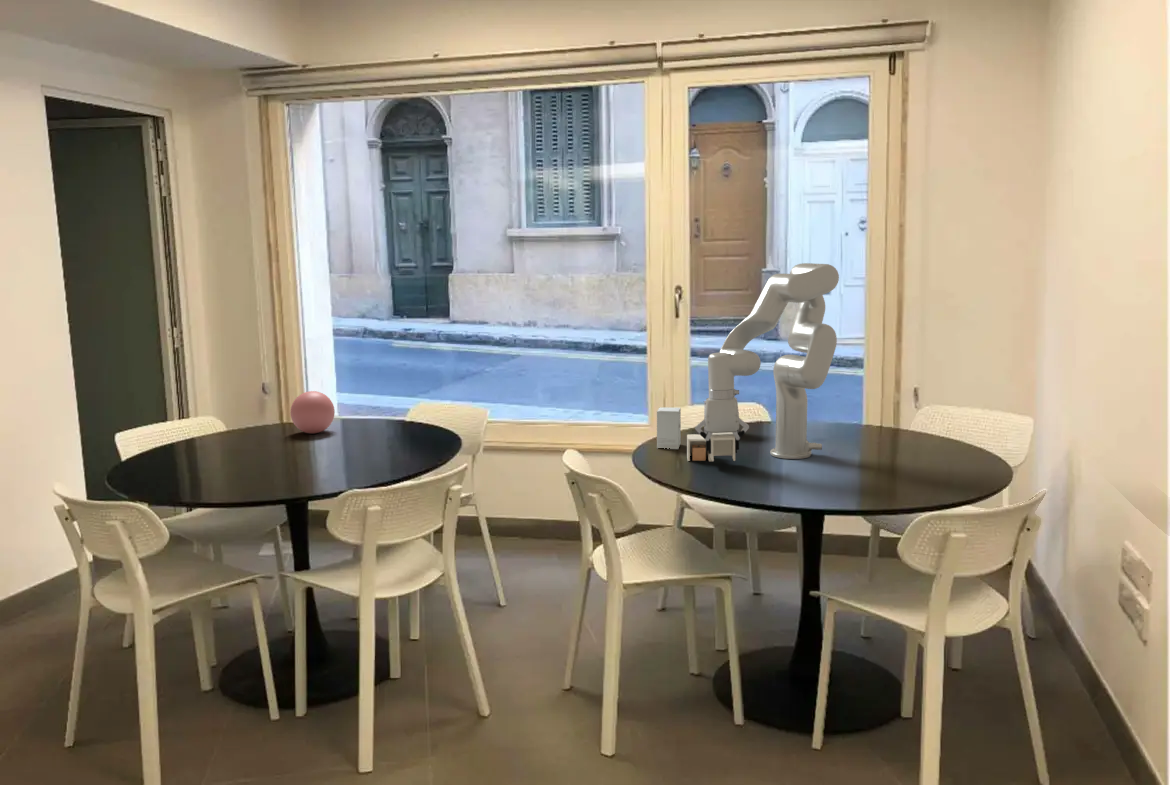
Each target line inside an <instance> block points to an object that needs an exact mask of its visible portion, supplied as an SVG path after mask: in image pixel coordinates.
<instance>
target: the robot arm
mask: <svg viewBox="0 0 1170 785" xmlns="http://www.w3.org/2000/svg"><path fill="white" fill-rule="evenodd" d="M839 279H840V274H839V271H838V269H837V268H836V267H834V266H833V265H831V264H829V263H811V262H810V263H809V262H807V263H805V262H804V263H803V262H802V263H798V264H795V265H794V266H793V267H792V268H791V269H790V271H789V273H775V274H773V275H771V276H770V277H769V278H768V280H767V281H766V283H765V285H764V287H763V289H762V290H761V292H760V295H759V296H758V299H757V300H756V302H755V304H754V306H753V307H752V310H751V312H750V313H749V315H748V316H747V317H746V318H744V319H743V320H742V321H741V322H739V324H737V325H736V326H735V327H734V328H733V329H732V330H731V331H730V332H729V334H728V335H727V337H726V338H725V340H724V342H723V344H722V346H721V347H720V350H719V352H713V353H710V354H709V355H708V357H707V369H708V370H707V371H708V372H707V373H708V374H707V375H708V379H707V380H708V398H706V399H705V401H706V404H705V419H704V418H703V420H701V421H700V422H698V424H697V425H696V426H695V427H694V429H695V431H696V432H697V433H698V434H700V435H701V436H702V437H703V438H704V439H705V440H706V451H708V452H709V454H711V440H710V437H711V435H712V433H717V432H732V433H733V434H734V436H735V454H737V453H738V450H740V440H741V438H742V437H743V436H745V434H746V433H747V431H748V430H749V429H750V425H749V424H748V423H746V421H744V420H742V419H741V418H740V413H739V406H738V404H739V403H738V399H737V397H735V396H737V395H740V390H739V389H736V388H735V377H736V376H738V377H741V376H742V377H749V376H752V375H755V374H756V373H757V372H759V370H760V369H761V368H760V367H761V363H762V362H761V359H760V356H759V355H758V354H757V353H755V351H751V350H747V349H745V348H746V346H747V345H748V344H749V343H750V342H751V341H753V339H755V338H756V337H758V336H759V337H760V336H762V335H764V334H765V333H768V332H770V331H772V330H774V329H775V328H776V327H777V324H778V323H779V321H780V319H781V317H782V315H783V312H784V311H785V309H786V308H787V305H788V303H793V304H795V303H796V304H797V308H796V311H795V314H794V317H793V321H792V324H791V327H790V330H789V334H788V337H787V338H788V339H787V343H788V346H789V347H790V349H792V350H793V351H796V352H800V353H805V354H806V356H803V355H797V354H785V355H782V356H779V357H778V359H776V361H775V362H774V365H773V380H774V384H775V397H776V398H775V399H776V400H775V402H776V404H775V447H773V448H771V449H770V455H771V456H772V457H774V458H779V459H787V460H798V459H799V460H800V459H801V460H802V459H807V458H810V457H811V456H812V450H817V451H822V449H823V444H822V443H817V442H809V441H808V438H807V437H808V436H807V432H808V428H807V427H808V426H807V425H808V394H807V391H806V389H807V390H815V389H818V388H820V387H821V386H822V385H823V384H824V383H825V380H826V379H827V376H828V374H829V371H830V368H831V364H832V361H833V358H834V354H835V352H836V348H837V342H838V340H837V333H836V331H835V329H834V328H833V327H832V326H831V325H829V324H826V323H823V321H824V317H825V314H826V300H825V298H824V295H827V294H829V293H831V292H832V291H833V290H834V289H835V288H837V286H838V284H839V281H840V280H839ZM704 425H705V428H706V431H707V433H704V430H703V429H702V428H704ZM740 425H741V427H742V428H741V430H740Z"/></svg>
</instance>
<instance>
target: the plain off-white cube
mask: <svg viewBox="0 0 1170 785" xmlns="http://www.w3.org/2000/svg"><path fill="white" fill-rule="evenodd" d="M710 440H711V454H710V456H711V462H714V461H715V459H714V458H715V456H717V457H719V456H720V457H721V456H722V457H723V456H731V457H732V460H733V461H734V462H735V461H736V453H735V436H734V434H733V433H732V432H728V433H712V435H711V437H710Z"/></svg>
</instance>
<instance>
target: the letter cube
mask: <svg viewBox="0 0 1170 785" xmlns="http://www.w3.org/2000/svg"><path fill="white" fill-rule="evenodd" d="M691 458H692V459H691V460H692V461H706V459H707V457H706V448H705V445H692V457H691Z"/></svg>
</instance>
